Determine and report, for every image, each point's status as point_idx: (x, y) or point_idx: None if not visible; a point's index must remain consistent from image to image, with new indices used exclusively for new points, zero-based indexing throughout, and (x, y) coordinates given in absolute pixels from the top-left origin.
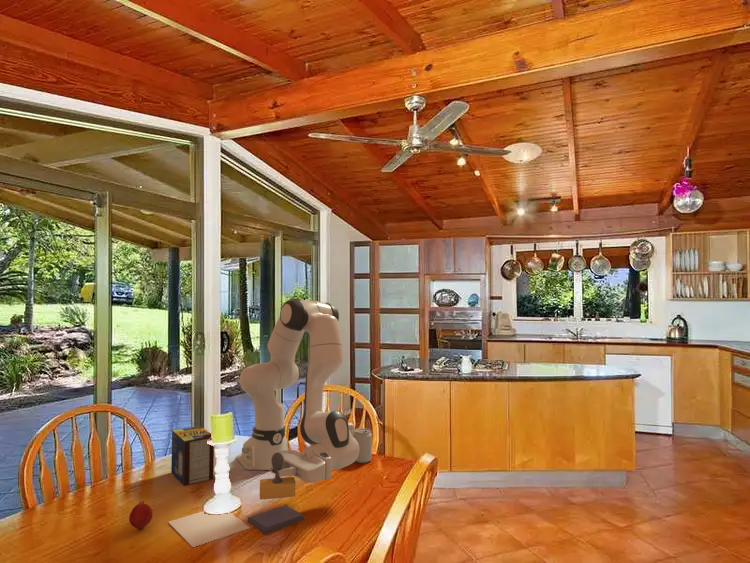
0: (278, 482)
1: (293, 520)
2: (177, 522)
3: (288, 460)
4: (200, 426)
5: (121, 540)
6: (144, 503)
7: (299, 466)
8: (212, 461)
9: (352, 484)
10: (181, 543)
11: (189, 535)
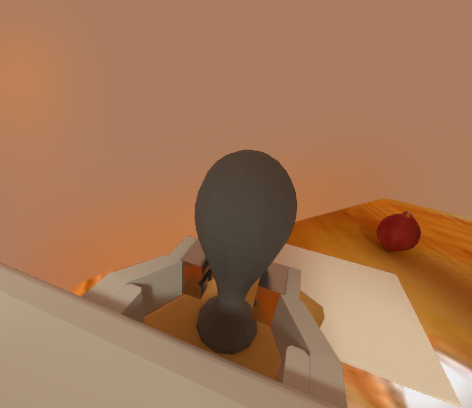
0: (205, 302)
1: None
2: (383, 278)
3: (223, 377)
4: None
5: (363, 229)
6: (407, 217)
7: (12, 273)
8: None
9: None
10: (302, 245)
11: (315, 258)
